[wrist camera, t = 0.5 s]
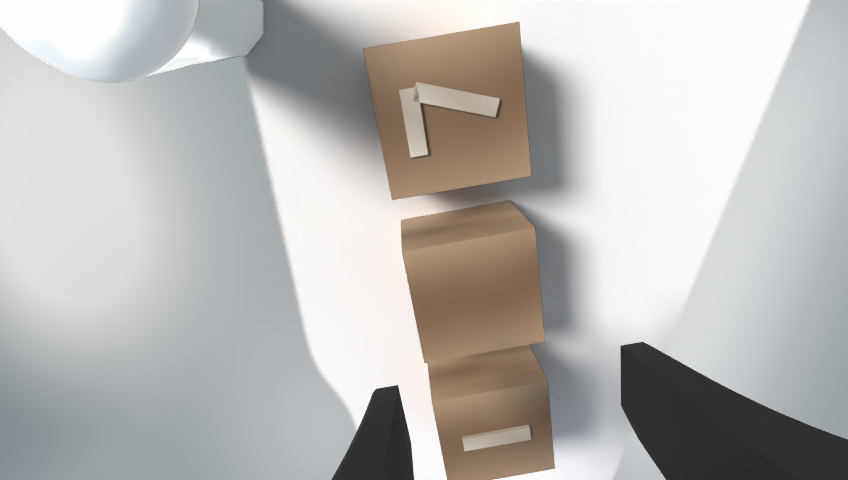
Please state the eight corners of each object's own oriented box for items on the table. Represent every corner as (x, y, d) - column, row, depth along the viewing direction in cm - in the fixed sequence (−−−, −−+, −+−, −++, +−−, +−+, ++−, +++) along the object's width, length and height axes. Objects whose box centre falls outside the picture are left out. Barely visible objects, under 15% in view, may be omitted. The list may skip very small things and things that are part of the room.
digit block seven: (504, 156, 20) (532, 176, 16) (392, 175, 20) (392, 201, 16) (493, 32, 18) (520, 21, 14) (369, 53, 18) (362, 48, 14)
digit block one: (530, 408, 25) (556, 471, 21) (440, 424, 25) (449, 490, 21) (522, 330, 23) (549, 383, 19) (425, 348, 23) (432, 404, 19)
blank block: (519, 296, 22) (545, 341, 18) (419, 314, 22) (424, 363, 18) (509, 199, 20) (535, 227, 17) (400, 219, 20) (402, 251, 17)
